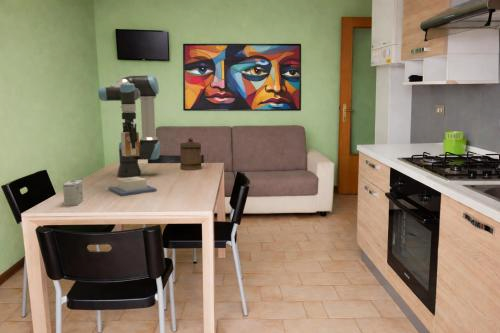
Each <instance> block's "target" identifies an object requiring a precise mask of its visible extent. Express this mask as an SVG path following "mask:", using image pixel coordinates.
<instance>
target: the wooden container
mask: <svg viewBox="0 0 500 333" xmlns="http://www.w3.org/2000/svg"><path fill="white" fill-rule="evenodd" d="M187 140H188V141H187V142H182V143H180V148H179V149H180V156H179V157H180V159H179V160H180V170H183V171H197V170H201V169H202V143H201V142H196V141H193V140H194V139H193V138H192V137H189V138H188V139H187Z"/></svg>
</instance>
